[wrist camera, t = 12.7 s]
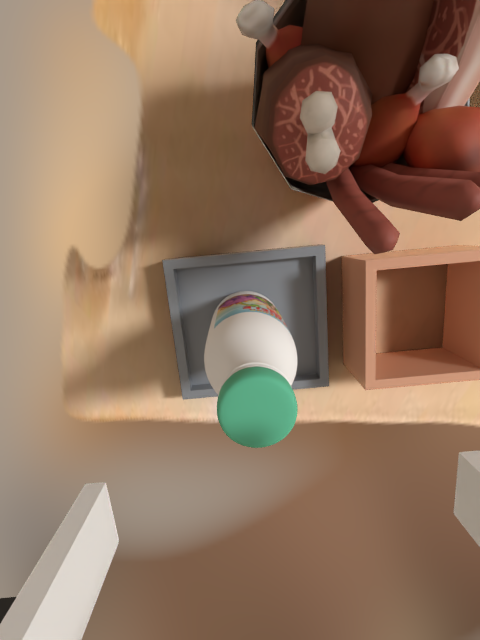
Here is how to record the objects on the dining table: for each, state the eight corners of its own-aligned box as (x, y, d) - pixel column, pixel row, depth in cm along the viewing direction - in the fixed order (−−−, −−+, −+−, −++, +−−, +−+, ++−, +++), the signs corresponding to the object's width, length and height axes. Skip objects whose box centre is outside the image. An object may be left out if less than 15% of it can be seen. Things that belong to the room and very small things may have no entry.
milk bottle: (263, 364, 39) (291, 490, 20) (202, 341, 38) (168, 448, 19) (290, 305, 37) (351, 379, 18) (227, 279, 36) (218, 327, 17)
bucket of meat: (219, 59, 32) (195, -207, 13) (384, 0, 31) (628, -385, 12) (275, 257, 37) (319, 281, 18) (420, 211, 36) (635, 183, 17)
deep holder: (341, 256, 37) (365, 260, 30) (457, 245, 37) (508, 247, 30) (343, 364, 40) (365, 390, 33) (450, 354, 40) (494, 378, 33)
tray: (167, 258, 37) (162, 260, 34) (319, 244, 37) (325, 245, 34) (186, 389, 41) (182, 399, 38) (323, 377, 41) (328, 386, 38)
